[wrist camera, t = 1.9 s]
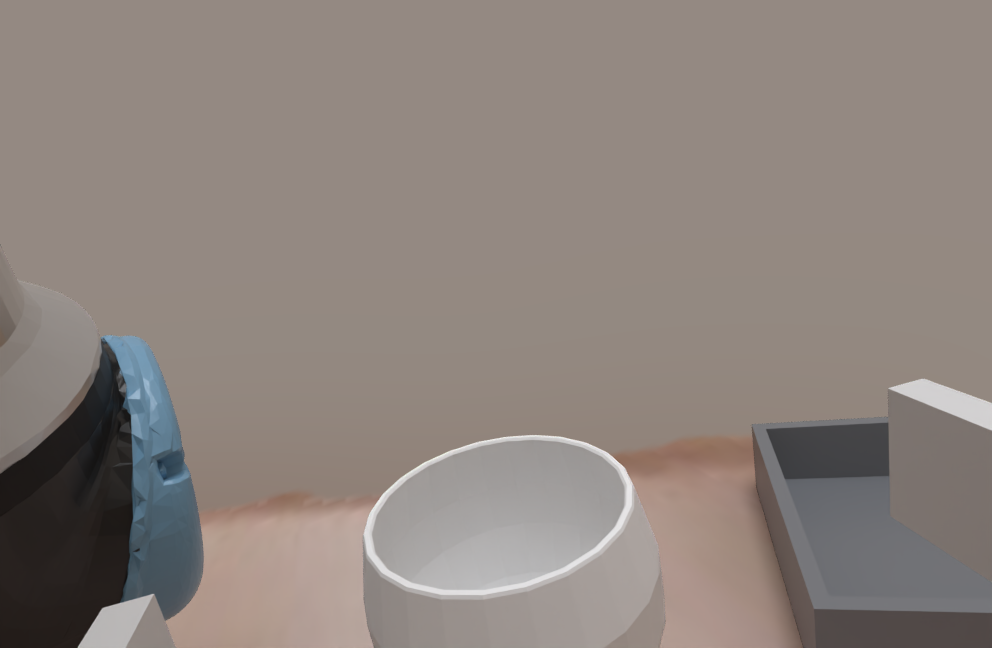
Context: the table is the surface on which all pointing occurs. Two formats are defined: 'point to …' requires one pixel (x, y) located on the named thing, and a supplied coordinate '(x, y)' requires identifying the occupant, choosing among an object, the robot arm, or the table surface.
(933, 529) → the robot arm
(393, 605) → the white ceramic vase
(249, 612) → the table surface
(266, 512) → the table surface
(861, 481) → the bin
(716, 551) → the table surface
